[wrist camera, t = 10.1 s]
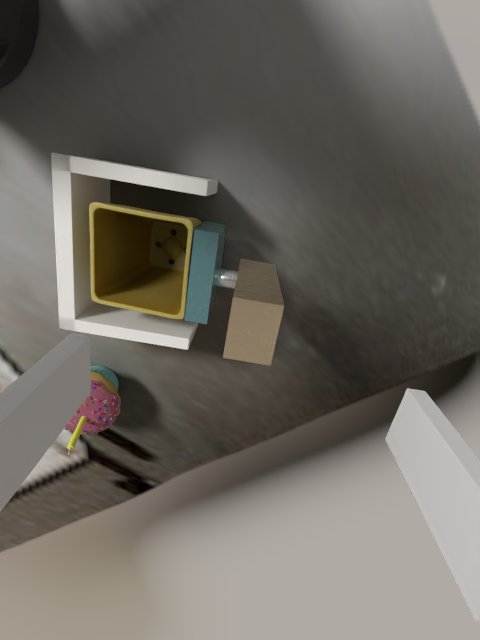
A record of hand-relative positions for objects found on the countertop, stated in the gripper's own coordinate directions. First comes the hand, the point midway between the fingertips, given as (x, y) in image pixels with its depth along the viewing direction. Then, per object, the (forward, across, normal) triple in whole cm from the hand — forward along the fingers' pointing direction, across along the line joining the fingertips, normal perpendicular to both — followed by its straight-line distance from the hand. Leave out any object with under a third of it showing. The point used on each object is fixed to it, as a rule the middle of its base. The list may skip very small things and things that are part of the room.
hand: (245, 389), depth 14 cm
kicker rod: (+24, -2, 0) cm, 24 cm away
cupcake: (+25, -17, -20) cm, 36 cm away
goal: (+25, -11, 0) cm, 27 cm away
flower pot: (+25, -9, 0) cm, 26 cm away
